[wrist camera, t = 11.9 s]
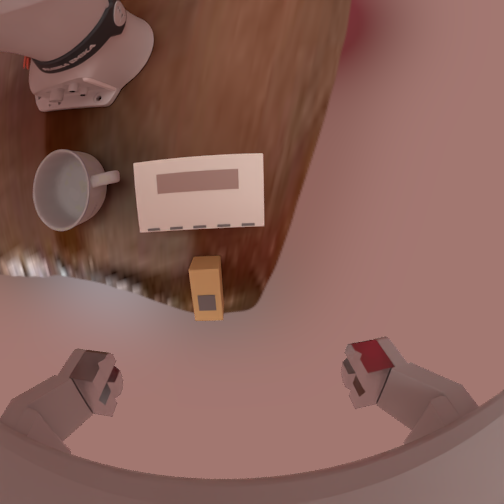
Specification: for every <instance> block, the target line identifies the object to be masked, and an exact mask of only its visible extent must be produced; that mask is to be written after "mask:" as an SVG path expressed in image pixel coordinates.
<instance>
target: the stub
mask: <svg viewBox="0 0 504 504" xmlns="http://www.w3.org/2000/svg"><path fill="white" fill-rule="evenodd" d="M189 278H190V285H191V293H192V300H193V307H194V314H195V320H196V321H208V320H209V321H210V320H223V312H224V297H223V285H222V272H221V258H220V256H198V257H193V260H192V262H191V265H190V268H189Z"/></svg>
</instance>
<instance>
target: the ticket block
mask: <svg viewBox="0 0 504 504" xmlns="http://www.w3.org/2000/svg"><path fill="white" fill-rule="evenodd" d="M133 165H134V179H135V191H136V202H137V211H138V219H139V227H140V233H142V232H157V231H173V230H190V229H209V228H229V227H253V226H264V178H263V153H257V154H226V155H208V156H195V157H183V158H172V159H163V160H154V161H146V162H139V163H133Z"/></svg>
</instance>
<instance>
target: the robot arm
mask: <svg viewBox="0 0 504 504" xmlns="http://www.w3.org/2000/svg"><path fill="white" fill-rule="evenodd" d="M153 42H154V37H153V32H152V29H151V27H150V26H149V24H148V23H147V22H146V21H144V20H143V19H141V18H138V17H136V16H134V15H133V14H131V13H130V12H128V11H127V10H125V8H124V6H123V5H122V3H121V2H120V0H0V52H9V53H15V54H20V55H23V56H25V58H24V64H23V68H25V65H26V66H27V69H29V65H30V70H29V86H30V90H31V92H32V93H33V94H34V95H35V99H36V104H37V106H38V109H39V110H40V111H42V112H48V111H56V110H65V109H75V108H89V107H106V106H109V105H111V104H112V103H113V101H114V100H115V98H116V97H117V95H118V93H119V92H120V90H121V89H122V88H123V86H125V85H126V84H127V83H128V82H129V81H130V80H132V79H133V78H134V77H135V76H136V75H137V74H138V73H139V72H140V70H141V69H142V68H143V67H144V65H145V64H146V62H147V60H148V58H149V56H150V54H151V51H152V48H153ZM31 59H32V60H31ZM30 60H31V64H30ZM100 97H101V100H100V101H99V98H100ZM40 98H41V99H40ZM345 354H346V356H347V358H346V359H345V360H344V362H343V364H342V369H341V375H342V380H343V383H344V385H345V387H347V388H348V389H350V390H351V391H350V394H349V397H350V399H351V401H352V403H353V406H354V408H355V409H357V408H361V407H366V406H370V405H374V404H377V406H379V407H380V408H382V409H383V410H384V411H385V412H387V413H388V414H390V415H391V416H393V417H394V418H395V419H397V420H398V421H400V422H401V423H403V424H404V425H405V426H407V427H408V428H410V429H411V430H412V431H411V432H410V434H409V435H408V437H407V438H406V439H405V441H404V444H405V445H402V446H400V447H397V448H394V449H392V450H389V451H386V452H383V453H380V454H377V455H374V456H371V457H368V458H364V459H361V460H357V461H354V462H351V463H346V464H342V465H338V466H334V467H329V468H325V469H320V470H315V471H309V472H303V473H298V474H290V475H282V476H274V477H262V478H247V479H200V478H184V477H173V476H164V475H156V474H150V473H143V472H138V471H132V470H127V469H122V468H118V467H113V466H109V465H105V464H101V463H98V462H94V461H90V460H87V459H84V458H81V457H78V456H74V455H72V454H71V451H70V449H69V448H68V447H67V446H66V445H65V444H64V443H63V441H64V440H65V439H66V438H67V437H68V436H69V435H71V433H73V432H74V431H75V430H76V429H77V428H78V427H79V426H81V425H82V423H84V422H85V421H86V420H87V419H88V418H89V417H91V416H92V413H94V414H99V415H106V416H111V417H112V416H113V413H114V411H115V408H116V405H117V402H116V399H115V398H116V397H118V396H119V395H120V394H121V391H122V388H123V379H122V375H121V372H120V370H119V369H118V368H116V367H115V366H114V365H115V363H116V360H115V358H114V356H113V354H111V353H106V352H99V351H92V350H83V349H75V350H74V351H73V353H72V354H71V356H70V357H69V359H68V360H67V362H66V363H65V365H64V366H63V368H62V369H61V371H60V373H59V374H58V376H56V375H54V376H52V377H50V378H49V379H47V380H45V381H43V382H42V383H40V384H38V385H36V386H35V387H33V388H31V389H29V390H28V391H26V392H24V393H22V394H20V395H19V396H17V397H15V398H13V399H12V400H11V402H10V403H9V405H8V406H7V408H6V410H5V411H4V413H3V415H2V416H1V418H0V504H504V390H503V391H501V392H500V393H499V394H497V395H496V396H494V397H493V398H492V399H490V400H488V401H487V402H485V403H484V404H482V405H481V406H478V405H477V404H476V402H475V401H474V400H473V399H472V397H471V396H470V395H469V393H468V392H467V391H466V389H465V388H464V387H463V386H462V385H461V384H459V383H456V382H454V381H452V380H449V379H447V378H445V377H443V376H440V375H438V374H435V373H433V372H431V371H429V370H427V369H424V368H422V367H420V366H417V365H415V364H413V363H407V362H406V360H405V359H404V358H403V357H402V355H401V354H400V352H399V351H398V350H397V348H396V347H395V346H394V345H393V343H392V342H391V341H390V339H389V338H388V337H381V338H377V339H373V340H368V341H363V342H357V343H352V344H348V345H347V347H346V350H345Z"/></svg>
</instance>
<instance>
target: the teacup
mask: <svg viewBox="0 0 504 504" xmlns="http://www.w3.org/2000/svg"><path fill="white" fill-rule="evenodd" d="M119 181H120V174H119V171H117V170H115V171H109V172H104V169H103V167H102V165H101V164H100V162H99V161H98V160H97V159H96V158H95V157H93V156H92V155H90V154H87V153H84V152H79V151H71V150H67V149H60V150H56V151H53V152H52V153H50V154H49V155H47V156H46V157H45V158H44V160H43V161H42V162H41V164H40V165H39V167H38V169H37V171H36V174H35V178H34V183H33V200H34V205H35V209H36V211H37V213H38V216H39V217H40V219H41V220H42V221H43V223H45V225H47V226H48V227H49V228H51V229H53V230H56V231H66V230H69V229H71V228H73V227H75V226H76V225H79V224H81V223H83V222H85V221H87V220H88V219H90V218H91V217H93V216H94V215H95V214H96V213H97V212H98V211H99V209H100V208H101V206H102V204H103V202H104V199H105V196H106V190H107V184H111V183H116V182H119Z"/></svg>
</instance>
